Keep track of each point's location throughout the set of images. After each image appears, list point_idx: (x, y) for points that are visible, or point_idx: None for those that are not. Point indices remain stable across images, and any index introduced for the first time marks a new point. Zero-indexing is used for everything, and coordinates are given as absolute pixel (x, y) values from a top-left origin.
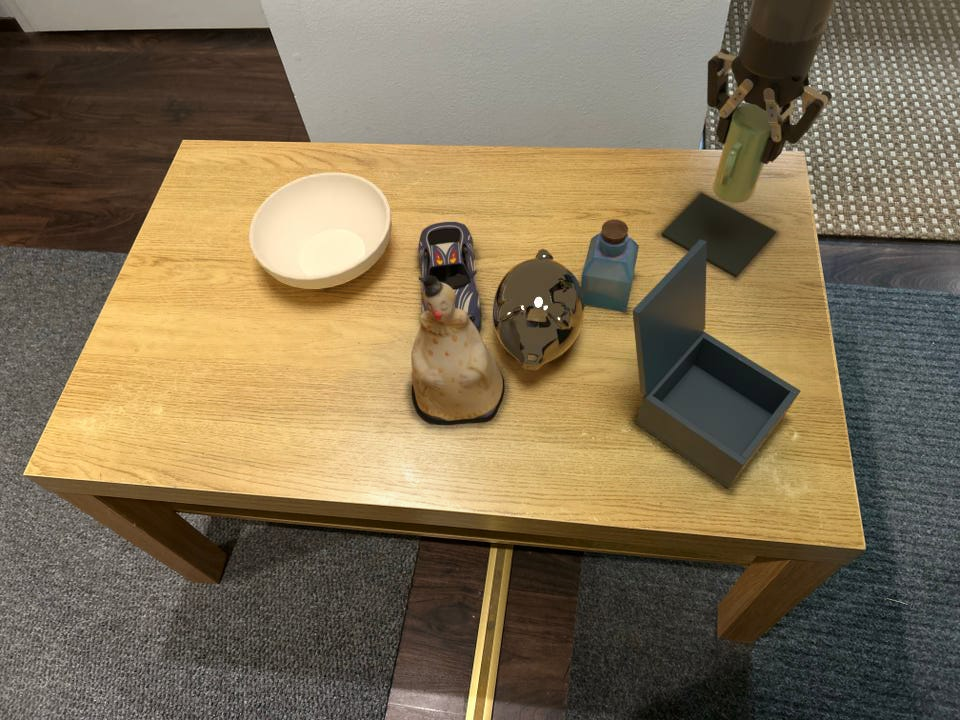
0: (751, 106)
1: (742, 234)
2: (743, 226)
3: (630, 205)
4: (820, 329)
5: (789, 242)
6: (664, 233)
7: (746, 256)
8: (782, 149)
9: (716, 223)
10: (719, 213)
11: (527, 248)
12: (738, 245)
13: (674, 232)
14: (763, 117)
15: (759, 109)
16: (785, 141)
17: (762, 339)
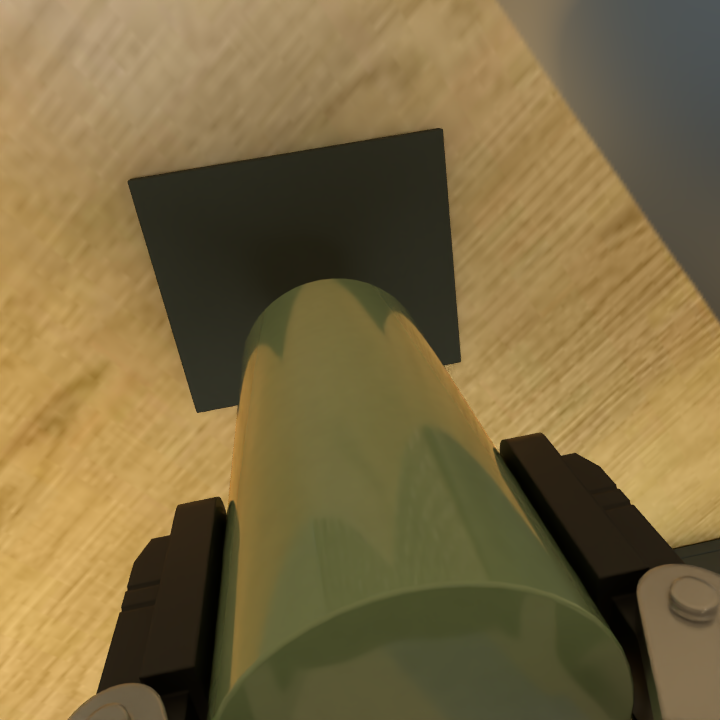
0: (282, 696)
1: (372, 231)
2: (350, 198)
3: (27, 396)
4: (710, 319)
5: (495, 123)
6: (204, 409)
7: (438, 290)
8: (618, 491)
9: (280, 258)
10: (251, 213)
11: (16, 677)
12: (393, 275)
13: (220, 383)
14: (474, 702)
15: (374, 673)
16: (661, 540)
17: (613, 441)
